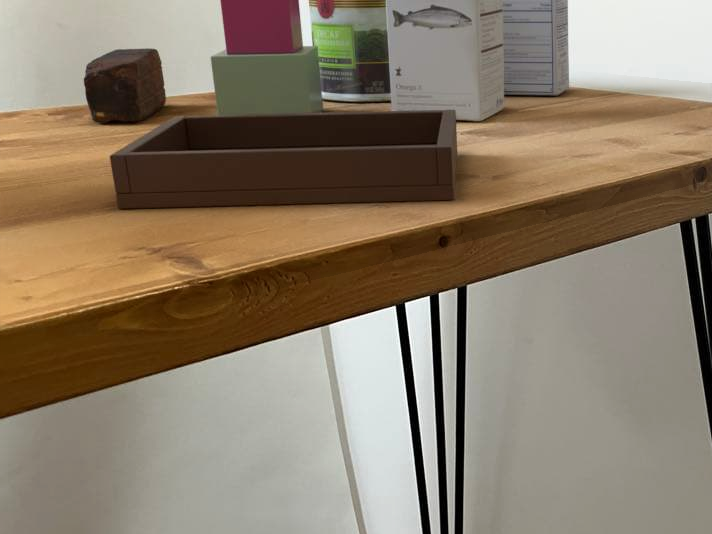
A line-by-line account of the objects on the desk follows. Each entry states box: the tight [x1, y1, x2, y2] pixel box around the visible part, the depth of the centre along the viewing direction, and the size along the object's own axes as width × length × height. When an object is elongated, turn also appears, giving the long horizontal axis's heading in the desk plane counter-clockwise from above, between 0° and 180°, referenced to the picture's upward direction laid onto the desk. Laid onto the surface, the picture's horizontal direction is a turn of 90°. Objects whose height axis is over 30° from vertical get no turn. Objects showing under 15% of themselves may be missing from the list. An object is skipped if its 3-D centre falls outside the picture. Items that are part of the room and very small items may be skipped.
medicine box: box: [503, 0, 570, 97], centre depth 97 cm, size 8×4×9 cm, turn 74°
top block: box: [219, 0, 304, 55], centre depth 85 cm, size 5×5×5 cm
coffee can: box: [308, 0, 391, 103], centre depth 96 cm, size 10×10×14 cm
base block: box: [210, 45, 324, 115], centre depth 87 cm, size 7×7×5 cm
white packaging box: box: [386, 0, 505, 122], centre depth 85 cm, size 7×7×13 cm
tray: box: [109, 110, 458, 210], centre depth 64 cm, size 18×14×3 cm
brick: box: [83, 48, 167, 124], centre depth 89 cm, size 11×4×5 cm, turn 7°
